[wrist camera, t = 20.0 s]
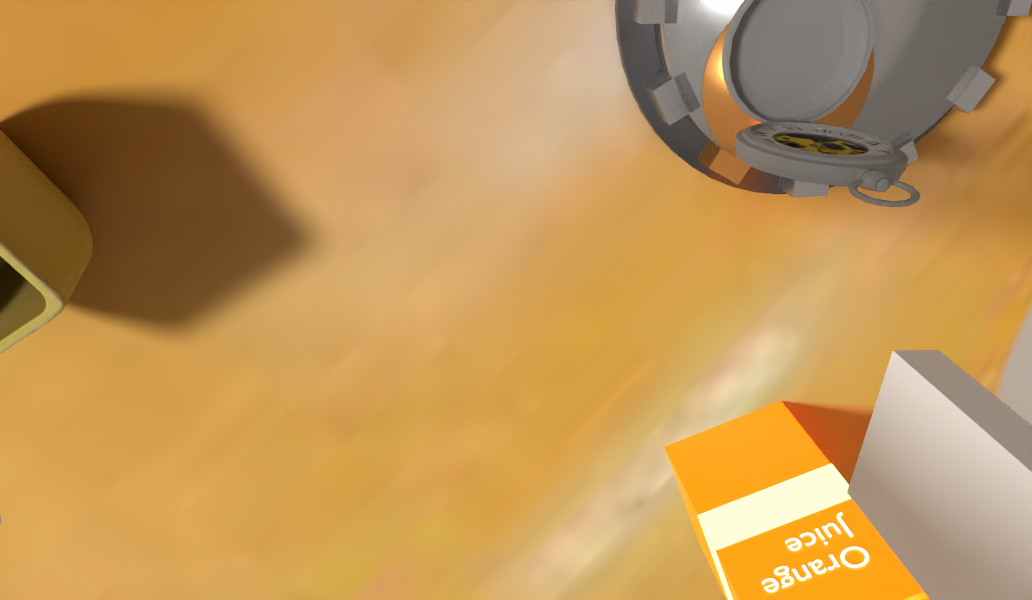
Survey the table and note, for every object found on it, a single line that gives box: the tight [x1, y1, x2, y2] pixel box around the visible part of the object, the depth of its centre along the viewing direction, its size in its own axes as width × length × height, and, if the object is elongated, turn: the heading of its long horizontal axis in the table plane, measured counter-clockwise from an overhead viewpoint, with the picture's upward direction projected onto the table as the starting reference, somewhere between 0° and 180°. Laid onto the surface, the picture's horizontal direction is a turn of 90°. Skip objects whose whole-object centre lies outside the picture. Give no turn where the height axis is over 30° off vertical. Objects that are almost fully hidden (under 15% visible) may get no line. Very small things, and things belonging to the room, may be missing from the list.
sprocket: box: [630, 0, 1032, 197], centre depth 31 cm, size 18×18×8 cm
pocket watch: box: [722, 0, 920, 207], centre depth 30 cm, size 8×8×10 cm
